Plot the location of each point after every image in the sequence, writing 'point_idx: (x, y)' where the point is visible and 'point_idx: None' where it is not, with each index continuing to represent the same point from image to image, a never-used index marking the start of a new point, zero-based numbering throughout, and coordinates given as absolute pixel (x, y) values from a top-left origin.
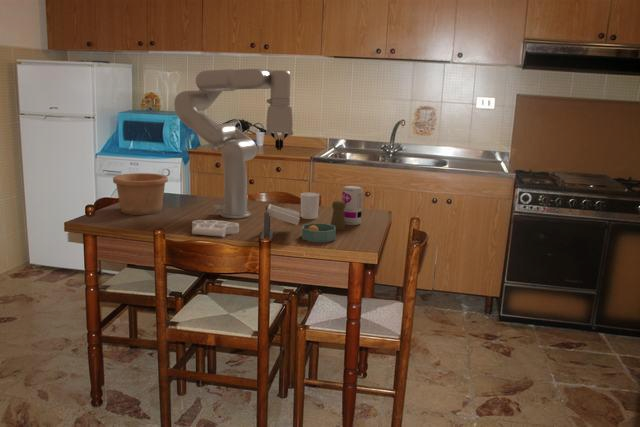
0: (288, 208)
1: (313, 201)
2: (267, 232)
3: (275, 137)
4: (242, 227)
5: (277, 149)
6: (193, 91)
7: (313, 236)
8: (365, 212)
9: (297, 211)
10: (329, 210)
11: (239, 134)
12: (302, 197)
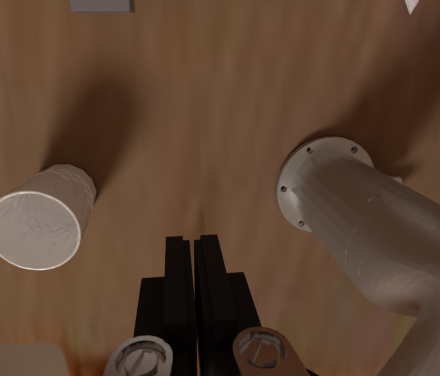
0: (120, 6)
1: (19, 186)
2: None
3: (283, 365)
4: (302, 8)
5: (211, 235)
6: None
7: None
8: None
9: (76, 5)
10: (6, 301)
11: None
12: (71, 203)
